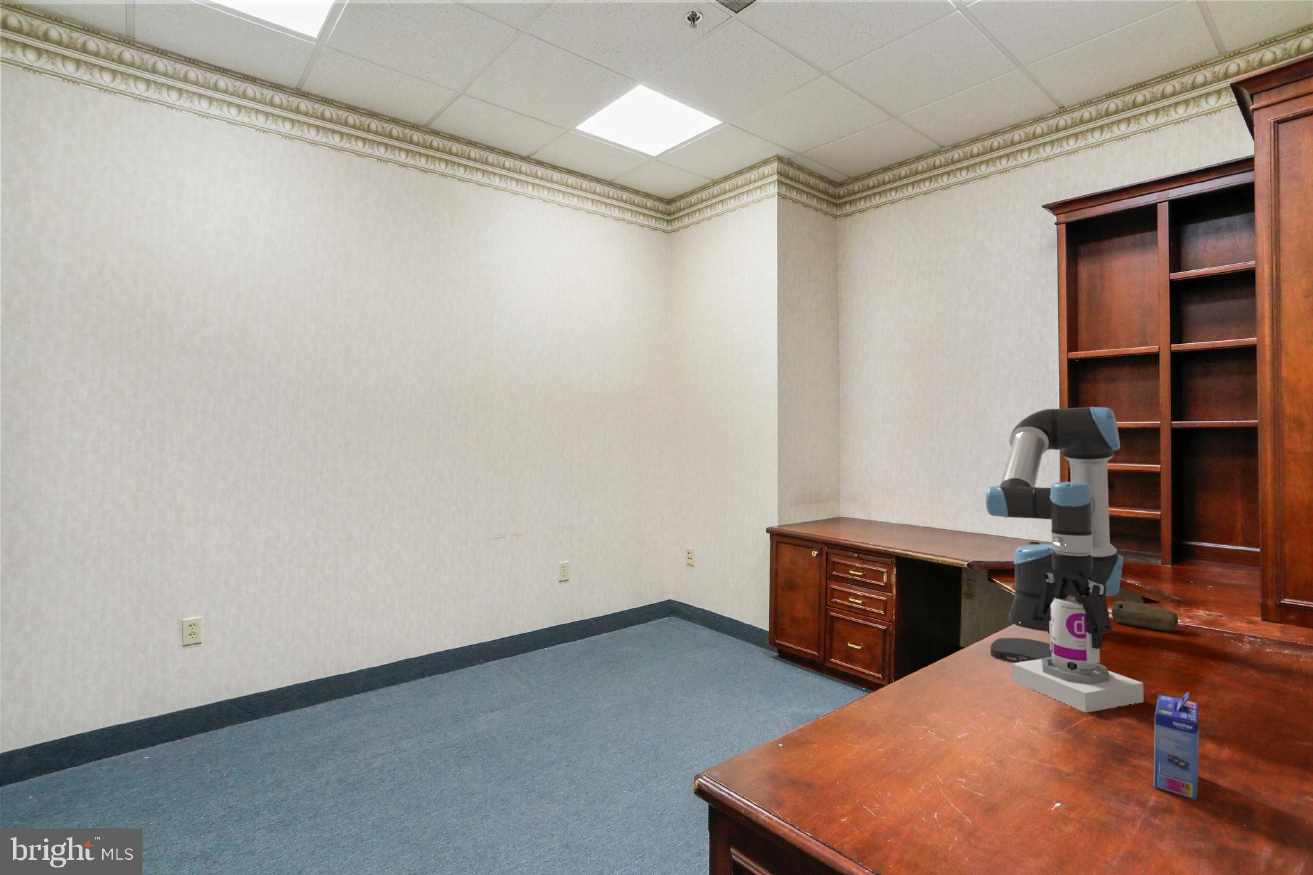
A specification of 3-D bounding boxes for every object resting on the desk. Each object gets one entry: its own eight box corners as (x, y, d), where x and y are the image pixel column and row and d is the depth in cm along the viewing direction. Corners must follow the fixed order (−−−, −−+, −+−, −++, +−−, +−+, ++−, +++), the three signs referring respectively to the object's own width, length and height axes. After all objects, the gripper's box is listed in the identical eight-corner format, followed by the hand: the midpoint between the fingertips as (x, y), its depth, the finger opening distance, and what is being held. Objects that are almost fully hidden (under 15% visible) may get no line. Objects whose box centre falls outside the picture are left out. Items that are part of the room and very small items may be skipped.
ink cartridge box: (1199, 802, 96) (1197, 707, 96) (1153, 789, 100) (1151, 697, 100) (1200, 775, 104) (1198, 687, 104) (1157, 764, 107) (1155, 679, 107)
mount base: (1011, 680, 145) (1011, 656, 145) (1065, 672, 149) (1065, 649, 149) (1085, 712, 127) (1084, 685, 128) (1143, 702, 132) (1142, 675, 132)
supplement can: (1104, 676, 134) (1102, 605, 134) (1061, 674, 135) (1059, 604, 135) (1086, 663, 142) (1084, 596, 142) (1045, 661, 143) (1044, 595, 143)
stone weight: (1110, 624, 186) (1110, 602, 186) (1115, 619, 191) (1114, 597, 191) (1176, 635, 176) (1175, 611, 176) (1179, 629, 181) (1178, 606, 181)
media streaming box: (1065, 656, 161) (1065, 644, 161) (1052, 671, 151) (1052, 659, 151) (1002, 644, 171) (1002, 633, 171) (986, 658, 161) (986, 646, 161)
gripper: (1018, 546, 148) (1020, 643, 148) (1105, 562, 127) (1107, 674, 127) (1043, 544, 150) (1045, 639, 150) (1132, 559, 130) (1135, 670, 130)
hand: (1074, 655), depth 139 cm, fingers closed on supplement can, 8 cm apart
